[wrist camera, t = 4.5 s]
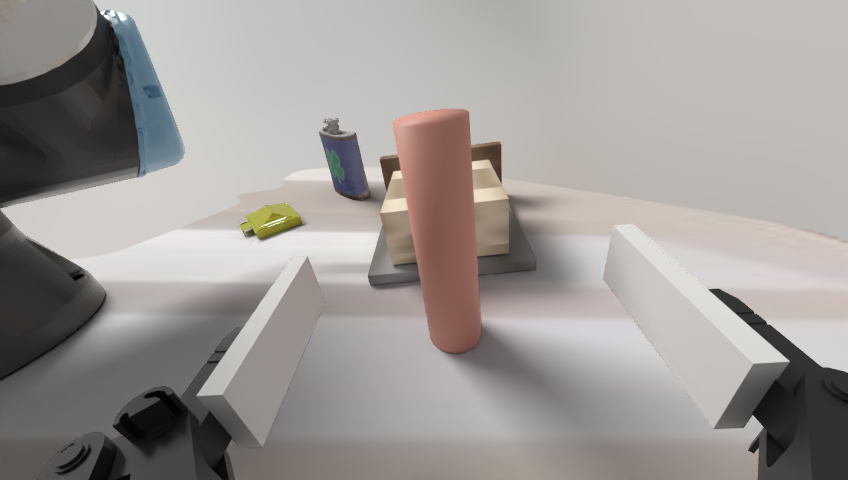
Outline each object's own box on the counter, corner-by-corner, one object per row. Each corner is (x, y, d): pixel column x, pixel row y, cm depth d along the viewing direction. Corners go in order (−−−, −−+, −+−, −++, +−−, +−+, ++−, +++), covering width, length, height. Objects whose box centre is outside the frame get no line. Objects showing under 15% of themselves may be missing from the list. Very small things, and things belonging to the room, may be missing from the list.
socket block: (391, 264, 27) (379, 213, 25) (401, 213, 36) (393, 171, 33) (508, 253, 26) (508, 198, 24) (490, 203, 35) (488, 159, 32)
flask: (374, 196, 45) (355, 117, 40) (356, 203, 44) (334, 123, 38) (346, 183, 52) (327, 114, 46) (329, 189, 50) (307, 118, 45)
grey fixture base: (370, 284, 27) (351, 218, 24) (391, 205, 41) (381, 156, 38) (535, 269, 26) (539, 197, 23) (499, 193, 40) (499, 141, 37)
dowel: (429, 355, 20) (388, 130, 13) (430, 315, 23) (396, 115, 16) (485, 351, 20) (473, 119, 13) (478, 311, 23) (465, 105, 16)
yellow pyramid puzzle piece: (318, 227, 40) (311, 207, 39) (242, 257, 36) (231, 236, 35) (296, 206, 48) (290, 188, 46) (231, 229, 44) (221, 210, 42)
